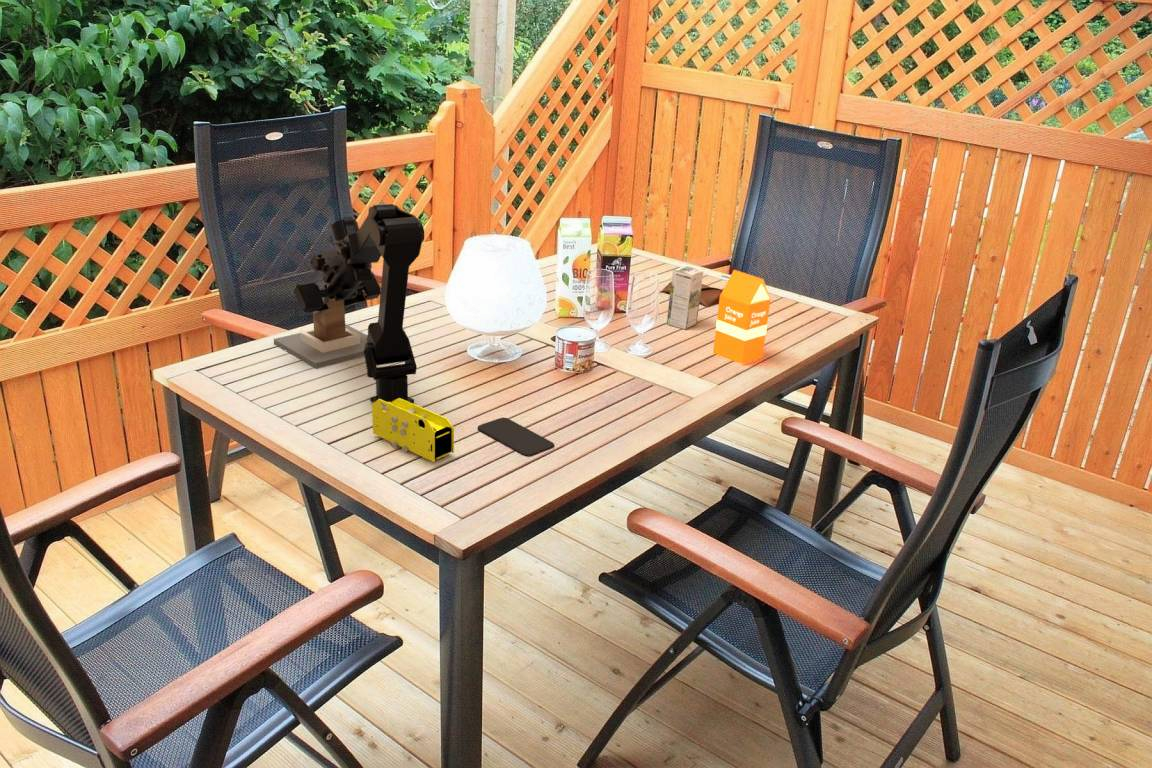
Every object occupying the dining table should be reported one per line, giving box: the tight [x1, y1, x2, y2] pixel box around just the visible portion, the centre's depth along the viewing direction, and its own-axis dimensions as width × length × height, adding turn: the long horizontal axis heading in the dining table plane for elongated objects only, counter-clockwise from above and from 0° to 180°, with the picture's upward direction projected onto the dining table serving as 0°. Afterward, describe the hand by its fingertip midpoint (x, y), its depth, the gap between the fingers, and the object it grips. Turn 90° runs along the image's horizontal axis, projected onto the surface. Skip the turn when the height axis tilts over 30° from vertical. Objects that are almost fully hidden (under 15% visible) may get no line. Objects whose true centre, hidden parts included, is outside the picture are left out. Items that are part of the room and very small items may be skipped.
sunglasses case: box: [659, 280, 723, 308], centre depth 265 cm, size 18×7×7 cm, turn 47°
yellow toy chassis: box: [371, 398, 455, 463], centre depth 173 cm, size 16×6×8 cm, turn 52°
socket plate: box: [273, 323, 368, 369], centre depth 216 cm, size 18×18×3 cm
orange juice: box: [712, 269, 771, 364], centre depth 222 cm, size 8×9×20 cm
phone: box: [477, 417, 555, 458], centre depth 180 cm, size 7×1×15 cm
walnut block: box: [312, 299, 346, 342], centre depth 214 cm, size 5×5×10 cm
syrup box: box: [666, 265, 704, 330], centre depth 241 cm, size 6×6×14 cm
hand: (325, 309), depth 214 cm, fingers closed on walnut block, 5 cm apart
